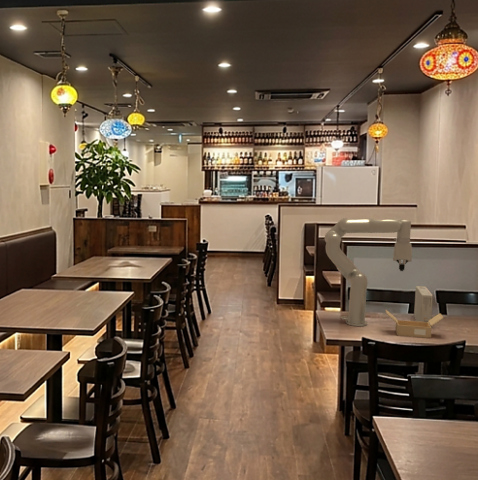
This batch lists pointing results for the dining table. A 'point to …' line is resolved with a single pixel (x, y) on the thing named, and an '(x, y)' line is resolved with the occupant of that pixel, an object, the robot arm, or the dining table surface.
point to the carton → (413, 329)
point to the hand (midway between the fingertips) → (401, 270)
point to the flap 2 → (435, 319)
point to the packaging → (423, 304)
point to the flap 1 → (391, 316)
